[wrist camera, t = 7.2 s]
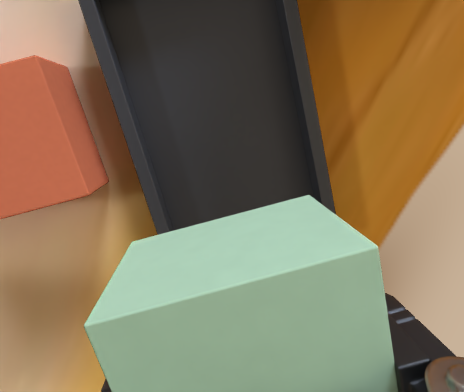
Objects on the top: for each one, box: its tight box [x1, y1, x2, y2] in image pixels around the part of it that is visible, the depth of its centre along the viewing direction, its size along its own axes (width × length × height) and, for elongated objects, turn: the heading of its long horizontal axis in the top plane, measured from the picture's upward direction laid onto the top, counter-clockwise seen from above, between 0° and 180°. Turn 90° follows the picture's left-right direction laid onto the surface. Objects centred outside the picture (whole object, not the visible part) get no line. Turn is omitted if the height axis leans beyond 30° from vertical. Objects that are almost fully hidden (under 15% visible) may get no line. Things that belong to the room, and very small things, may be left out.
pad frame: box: [78, 0, 336, 235], centre depth 21 cm, size 12×19×2 cm, turn 15°
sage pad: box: [84, 195, 398, 392], centre depth 9 cm, size 6×8×4 cm
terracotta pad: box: [0, 55, 109, 219], centre depth 19 cm, size 6×8×4 cm
